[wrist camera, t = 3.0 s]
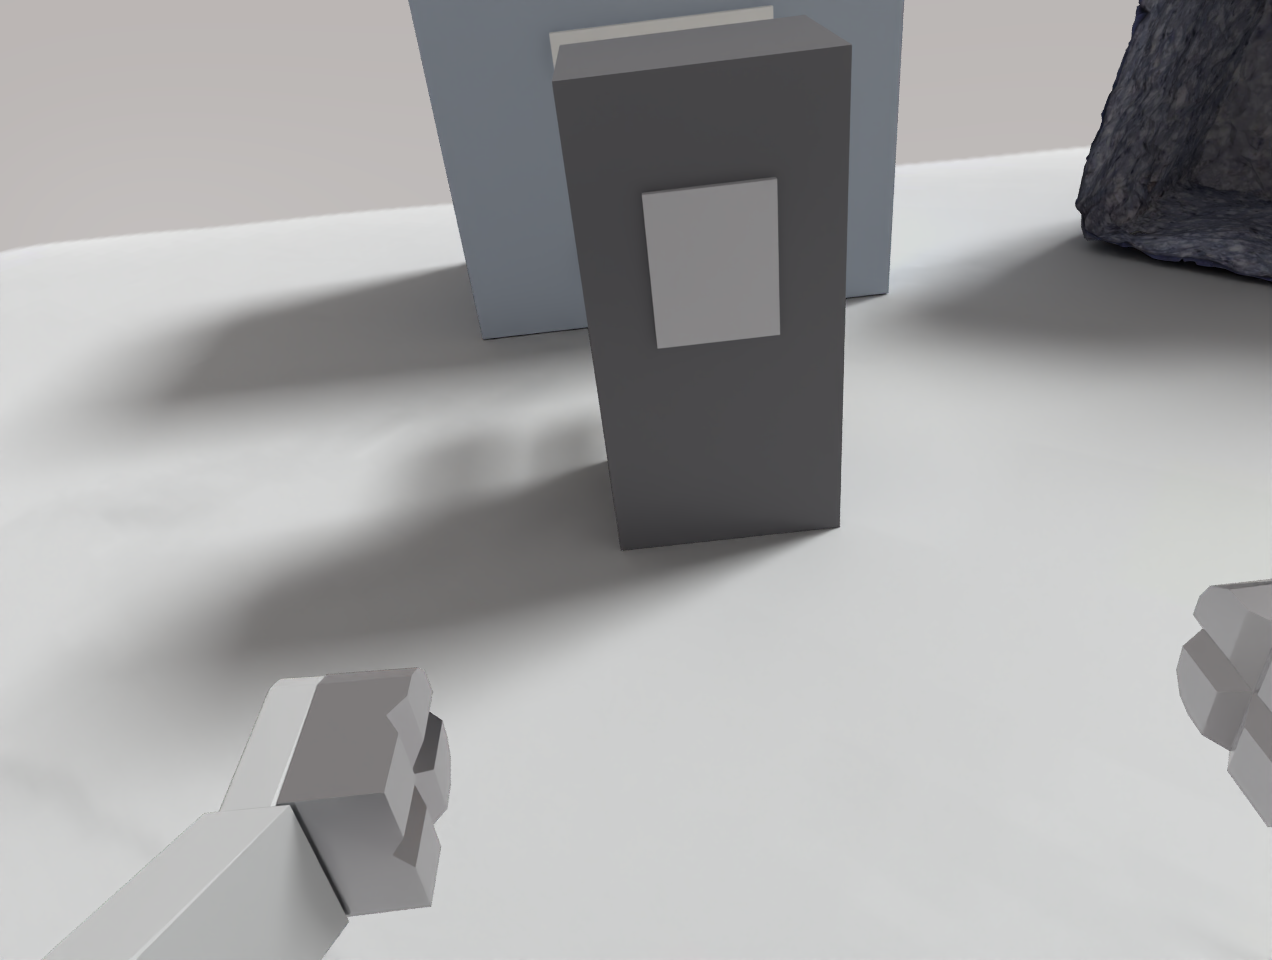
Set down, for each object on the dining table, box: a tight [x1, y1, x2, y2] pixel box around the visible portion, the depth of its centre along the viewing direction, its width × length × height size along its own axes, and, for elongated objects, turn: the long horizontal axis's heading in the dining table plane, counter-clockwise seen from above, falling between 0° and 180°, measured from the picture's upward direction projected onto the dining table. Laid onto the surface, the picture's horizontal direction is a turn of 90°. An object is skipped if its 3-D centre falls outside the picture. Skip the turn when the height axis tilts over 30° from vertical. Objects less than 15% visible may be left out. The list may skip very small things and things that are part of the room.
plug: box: [552, 15, 852, 550], centre depth 21 cm, size 5×8×10 cm, turn 2°
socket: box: [408, 0, 904, 339], centre depth 31 cm, size 14×9×12 cm, turn 92°
